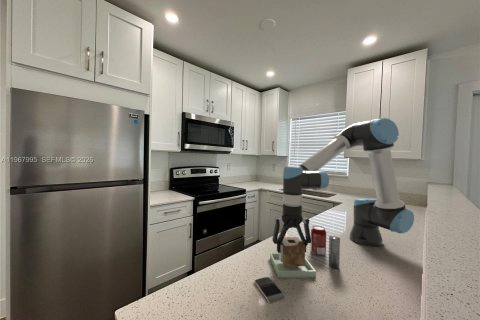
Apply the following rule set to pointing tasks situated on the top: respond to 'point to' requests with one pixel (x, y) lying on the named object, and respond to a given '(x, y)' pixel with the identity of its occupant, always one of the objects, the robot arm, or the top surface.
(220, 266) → the top surface
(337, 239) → the cylinder
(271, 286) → the cell phone
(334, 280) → the top surface
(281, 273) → the tray
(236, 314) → the top surface
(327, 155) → the robot arm
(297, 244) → the walnut block
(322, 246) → the soda can
